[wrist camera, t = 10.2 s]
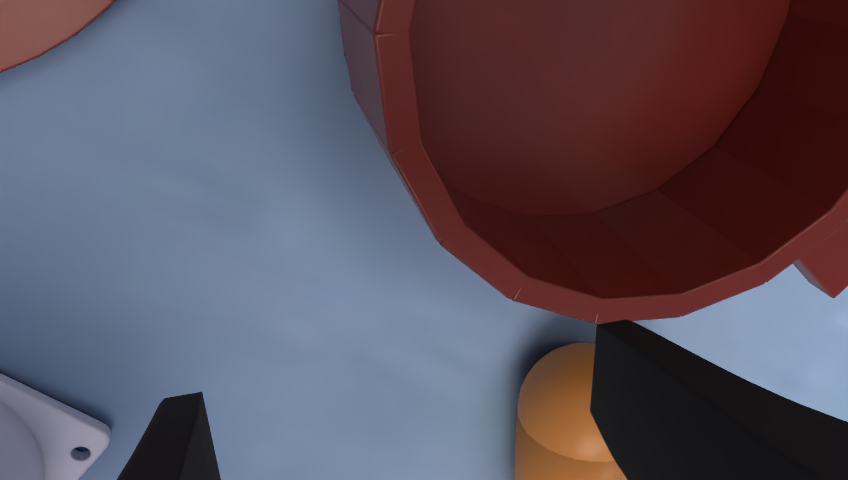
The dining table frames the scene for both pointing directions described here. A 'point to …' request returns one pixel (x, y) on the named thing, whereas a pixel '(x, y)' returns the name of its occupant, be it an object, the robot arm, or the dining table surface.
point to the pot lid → (42, 26)
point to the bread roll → (561, 421)
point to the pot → (616, 142)
